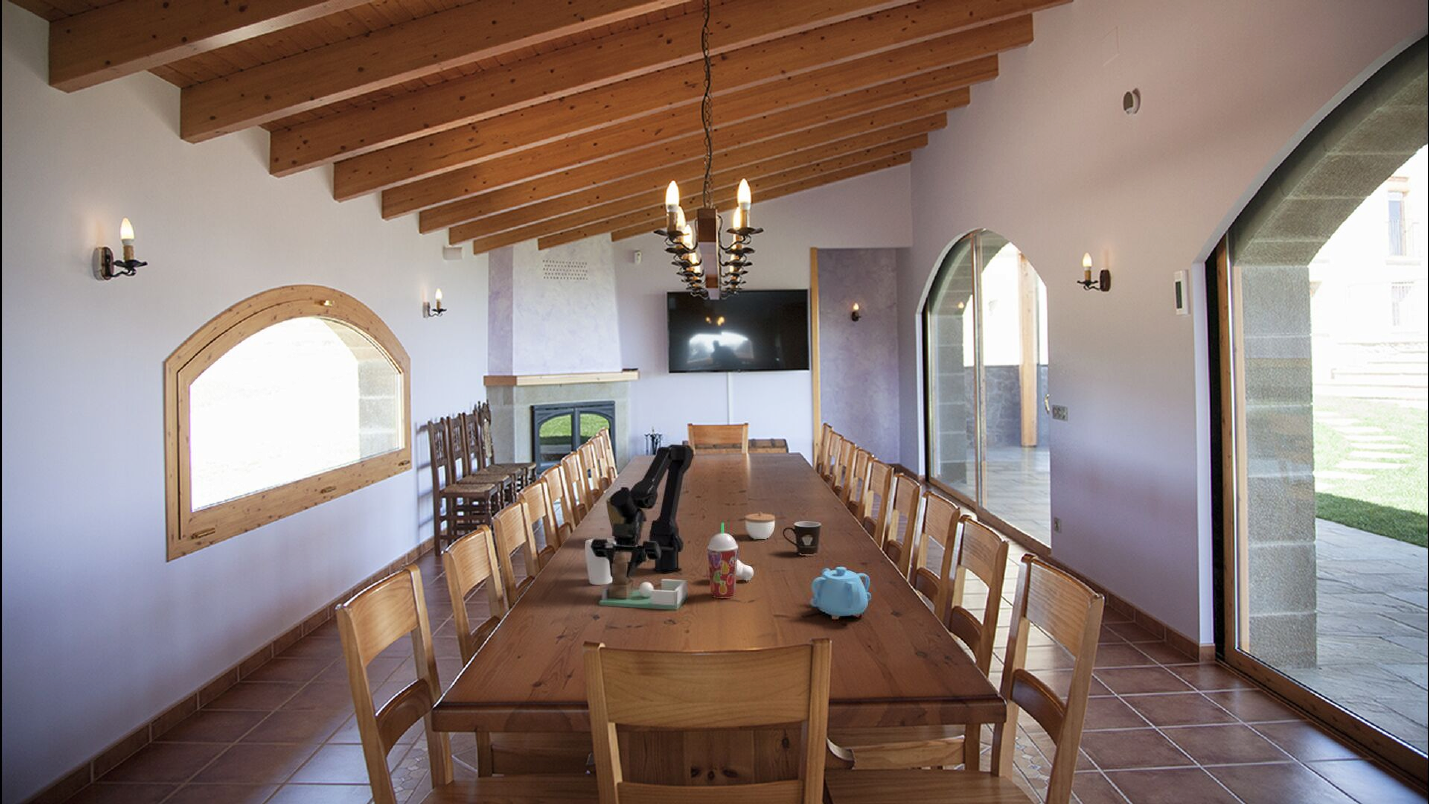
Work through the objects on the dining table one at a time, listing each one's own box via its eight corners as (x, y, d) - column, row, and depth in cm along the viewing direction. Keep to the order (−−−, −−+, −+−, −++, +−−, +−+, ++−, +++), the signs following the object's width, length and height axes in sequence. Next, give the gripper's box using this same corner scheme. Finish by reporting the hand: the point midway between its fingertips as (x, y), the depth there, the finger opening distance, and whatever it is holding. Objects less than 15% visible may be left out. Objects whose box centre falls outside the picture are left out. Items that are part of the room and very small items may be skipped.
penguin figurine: (713, 549, 235) (754, 552, 235) (711, 577, 235) (751, 581, 235) (713, 554, 228) (755, 558, 229) (711, 583, 229) (752, 587, 229)
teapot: (888, 622, 196) (888, 574, 195) (826, 629, 191) (826, 580, 191) (852, 598, 215) (852, 555, 215) (794, 604, 211) (794, 560, 210)
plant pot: (647, 548, 272) (646, 502, 271) (603, 548, 272) (602, 502, 271) (651, 538, 286) (650, 494, 286) (609, 538, 287) (609, 494, 286)
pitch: (599, 605, 211) (599, 588, 211) (614, 591, 223) (614, 576, 222) (676, 610, 206) (676, 592, 206) (687, 596, 218) (687, 579, 218)
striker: (608, 597, 213) (608, 554, 213) (616, 590, 219) (615, 548, 218) (626, 598, 212) (626, 554, 212) (633, 591, 218) (633, 549, 217)
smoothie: (742, 592, 221) (741, 521, 220) (733, 601, 213) (732, 527, 212) (713, 590, 224) (713, 519, 222) (703, 598, 216) (702, 525, 215)
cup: (610, 587, 227) (610, 545, 227) (580, 585, 229) (580, 544, 228) (620, 578, 236) (620, 538, 235) (591, 576, 238) (591, 536, 237)
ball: (648, 593, 217) (648, 579, 217) (656, 597, 214) (656, 582, 214) (635, 596, 215) (635, 582, 214) (644, 600, 212) (643, 585, 211)
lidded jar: (743, 540, 282) (743, 514, 281) (747, 534, 292) (747, 508, 292) (773, 541, 280) (773, 515, 280) (776, 535, 291) (776, 509, 290)
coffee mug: (824, 553, 264) (825, 523, 263) (813, 558, 257) (813, 528, 256) (793, 548, 270) (793, 519, 270) (781, 554, 263) (781, 524, 262)
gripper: (592, 509, 220) (578, 559, 210) (657, 512, 216) (646, 562, 206) (602, 531, 228) (589, 580, 218) (665, 534, 225) (655, 584, 214)
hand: (619, 576), depth 214 cm, fingers closed on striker, 4 cm apart
